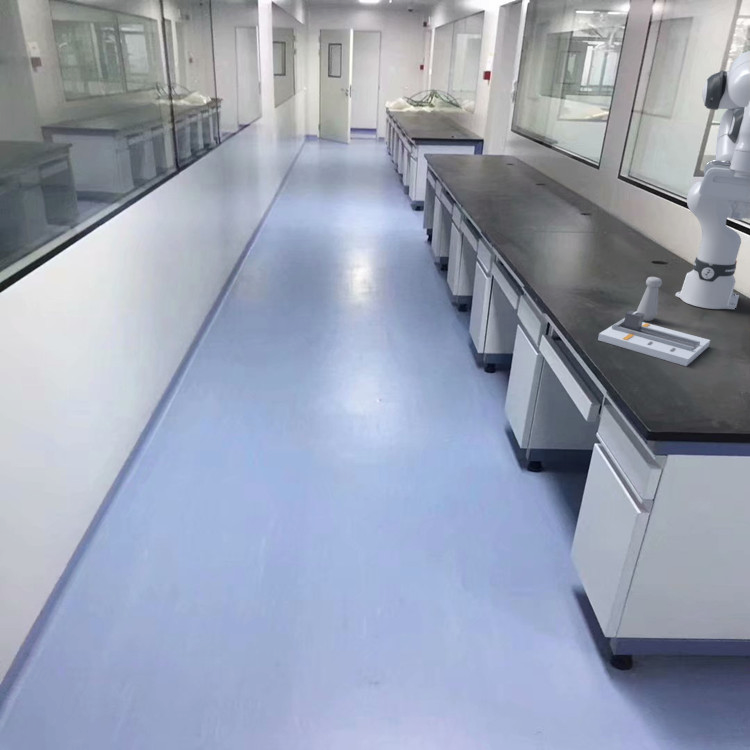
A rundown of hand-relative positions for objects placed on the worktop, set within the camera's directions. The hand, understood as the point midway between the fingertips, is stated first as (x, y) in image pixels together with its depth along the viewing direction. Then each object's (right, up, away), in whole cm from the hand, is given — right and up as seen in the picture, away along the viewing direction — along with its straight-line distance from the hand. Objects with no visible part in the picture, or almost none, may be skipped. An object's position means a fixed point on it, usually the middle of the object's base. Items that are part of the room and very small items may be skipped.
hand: (735, 218), depth 162 cm
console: (-16, -32, +12) cm, 38 cm away
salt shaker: (-11, -23, +29) cm, 39 cm away
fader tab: (-21, -28, +15) cm, 38 cm away
